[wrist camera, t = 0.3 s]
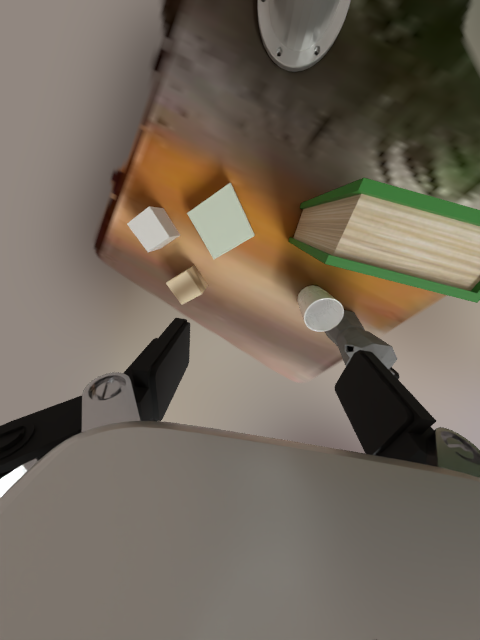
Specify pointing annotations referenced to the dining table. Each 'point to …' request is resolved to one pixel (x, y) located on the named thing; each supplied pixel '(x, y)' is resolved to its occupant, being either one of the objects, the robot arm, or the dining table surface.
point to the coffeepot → (360, 341)
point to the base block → (221, 221)
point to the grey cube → (153, 228)
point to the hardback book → (395, 237)
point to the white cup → (319, 309)
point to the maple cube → (187, 285)
